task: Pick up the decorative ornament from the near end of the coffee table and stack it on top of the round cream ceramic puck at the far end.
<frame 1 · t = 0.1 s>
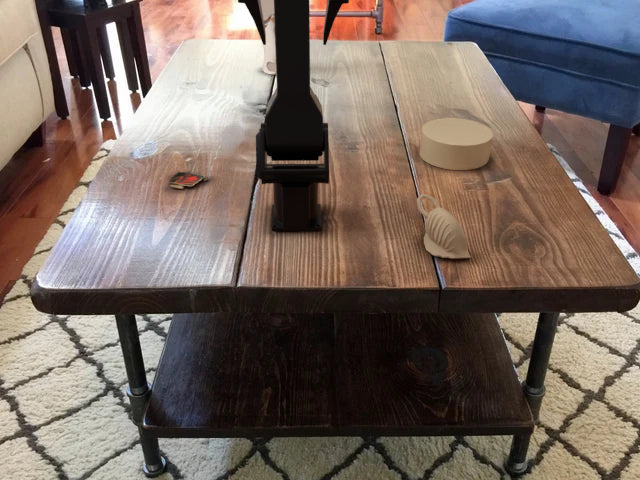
hand: (294, 44, 99), 15 cm above the table, tool pointing down, fingers open, 9 cm apart
ceramic puck: (453, 155, 102), on the table
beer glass: (277, 71, 135), on the table
decorative ornament: (440, 247, 80), on the table
matchbox: (185, 182, 93), on the table
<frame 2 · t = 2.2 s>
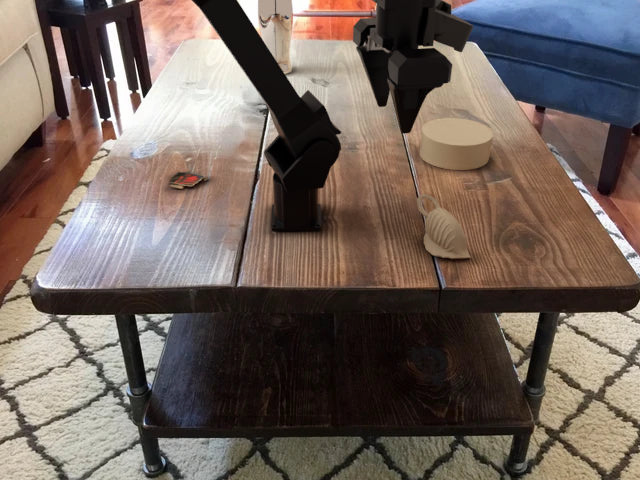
hand: (393, 119, 81), 12 cm above the table, tool pointing down, fingers open, 9 cm apart
nothing on the table moved.
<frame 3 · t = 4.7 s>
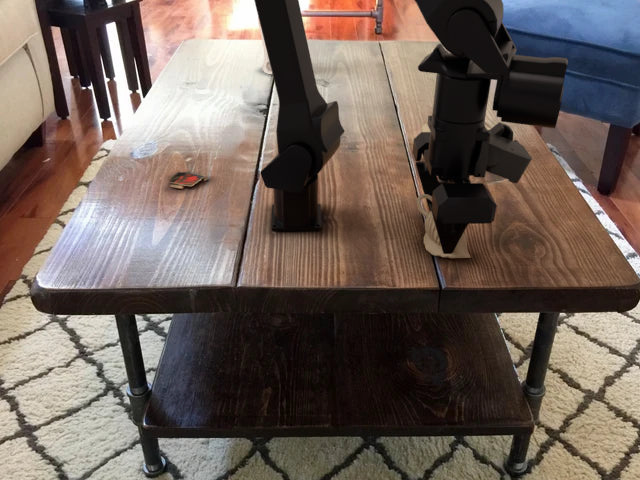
hand: (442, 237, 79), 1 cm above the table, tool pointing down, fingers closed on decorative ornament, 7 cm apart
decorative ornament: (440, 247, 80), on the table, touching gripper
everything else where it was.
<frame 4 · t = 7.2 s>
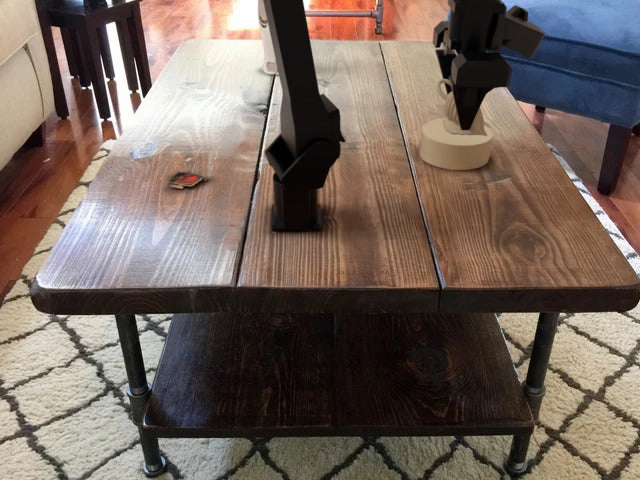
hand: (460, 119, 84), 11 cm above the table, tool pointing down, fingers closed on decorative ornament, 7 cm apart
decorative ornament: (458, 129, 85), point 10 cm above the table, touching gripper
everything else where it was.
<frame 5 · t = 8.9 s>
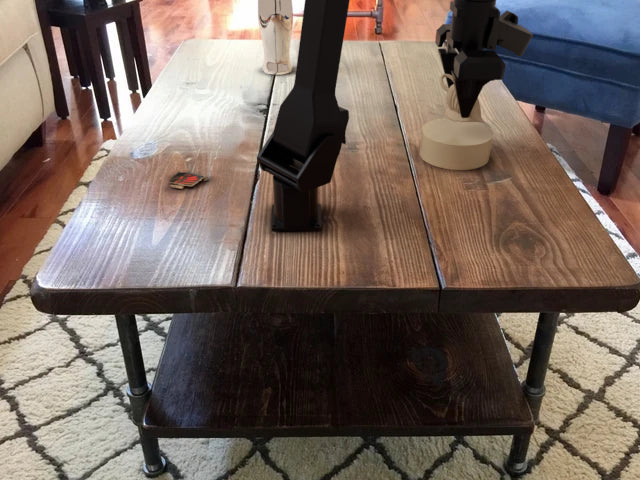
hand: (459, 108, 97), 8 cm above the table, tool pointing down, fingers closed on decorative ornament, 7 cm apart
decorative ornament: (459, 117, 98), point 6 cm above the table, touching gripper
everything else where it was.
when the fingers open (5 cm above the table, at t = 10.2 s): decorative ornament stays where it is, resting on ceramic puck.
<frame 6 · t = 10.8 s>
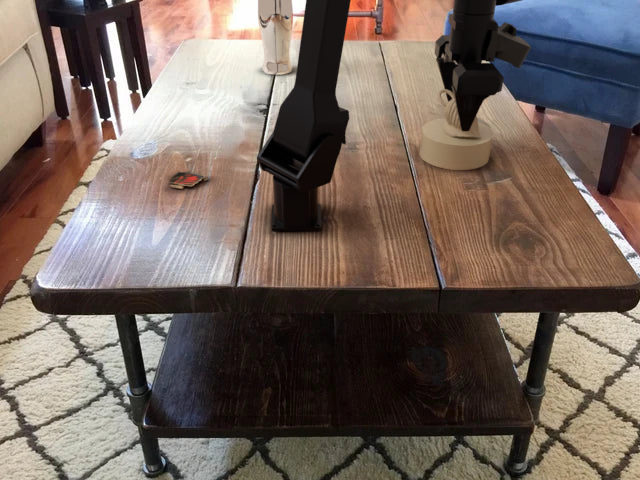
hand: (458, 119, 98), 6 cm above the table, tool pointing down, fingers open, 9 cm apart
ceramic puck: (453, 155, 102), on the table, touching decorative ornament
decorative ornament: (457, 132, 100), point 4 cm above the table, touching ceramic puck
everything else where it was.
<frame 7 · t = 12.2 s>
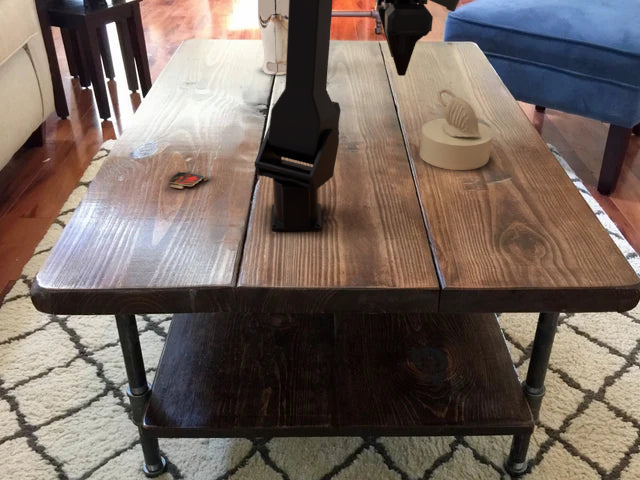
hand: (397, 65, 99), 12 cm above the table, tool pointing down, fingers open, 9 cm apart
nothing on the table moved.
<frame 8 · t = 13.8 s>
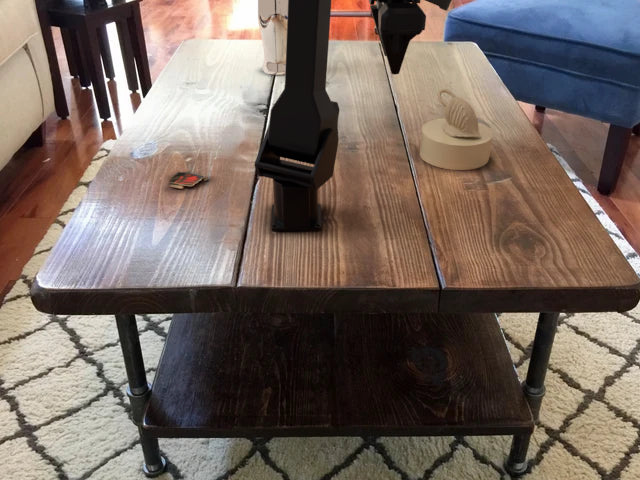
hand: (391, 64, 100), 12 cm above the table, tool pointing down, fingers open, 9 cm apart
nothing on the table moved.
at the end: decorative ornament 0.0 cm off-centre on the ceramic puck, point 3.8 cm above the ceramic puck's base; decorative ornament tilted 0°; the gripper is holding nothing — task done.
